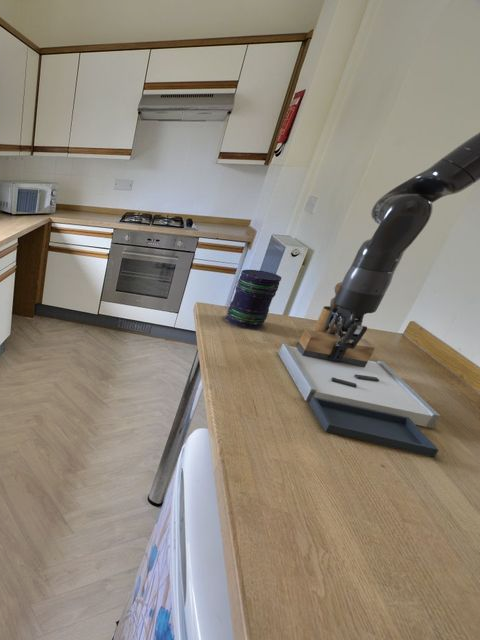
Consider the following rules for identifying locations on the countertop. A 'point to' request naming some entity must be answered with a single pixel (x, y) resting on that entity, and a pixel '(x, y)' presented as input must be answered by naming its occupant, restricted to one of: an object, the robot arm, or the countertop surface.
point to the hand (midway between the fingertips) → (329, 355)
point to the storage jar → (252, 299)
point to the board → (367, 394)
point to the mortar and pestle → (325, 314)
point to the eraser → (323, 344)
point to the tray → (372, 426)
